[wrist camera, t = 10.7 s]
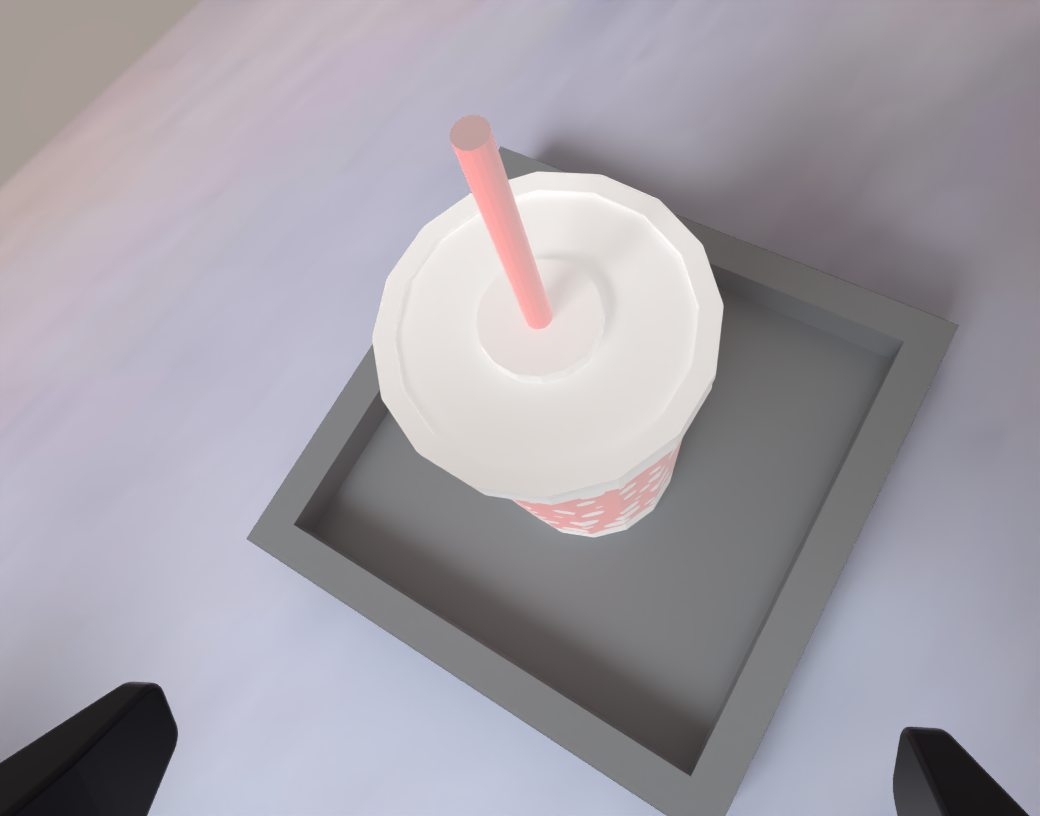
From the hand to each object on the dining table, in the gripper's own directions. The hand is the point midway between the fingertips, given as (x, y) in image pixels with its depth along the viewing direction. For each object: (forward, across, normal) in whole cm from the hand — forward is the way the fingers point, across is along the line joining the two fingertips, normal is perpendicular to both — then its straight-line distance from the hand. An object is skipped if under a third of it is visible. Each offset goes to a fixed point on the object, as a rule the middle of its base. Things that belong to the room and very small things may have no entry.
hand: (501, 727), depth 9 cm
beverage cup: (+12, 0, +3) cm, 13 cm away
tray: (+13, 0, +4) cm, 14 cm away
